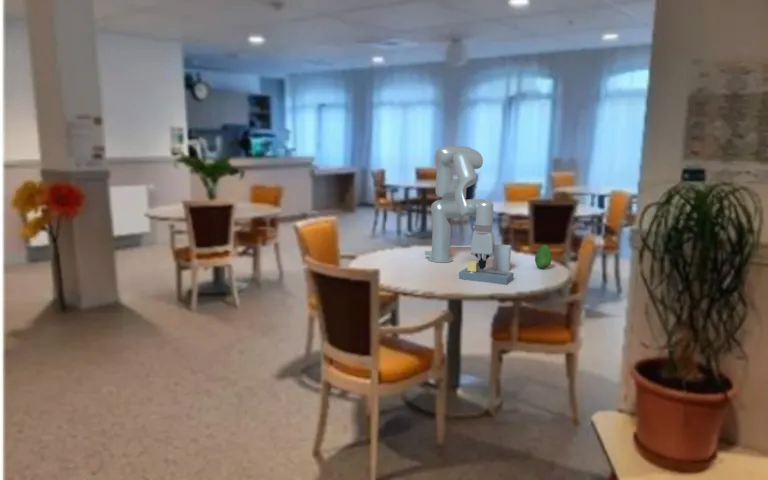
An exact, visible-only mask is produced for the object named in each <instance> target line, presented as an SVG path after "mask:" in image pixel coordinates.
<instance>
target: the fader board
mask: <svg viewBox="0 0 768 480" xmlns="http://www.w3.org/2000/svg"><path fill="white" fill-rule="evenodd" d="M467 269H468V266H467V267H466V268H464V269H462V270H461V271H459V272H458V279H459V280H464V281H465V280H466V281H474V282H481V283H488V284H489V283H491V284H498V285H505V286H507V285H508V284H509V283H510V282H512V281H513V280H514V272H510V271H508V272H503V271H494V270H493V269H486V268H484V269H479V270H478V271H476V272H473V271H467Z"/></svg>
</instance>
